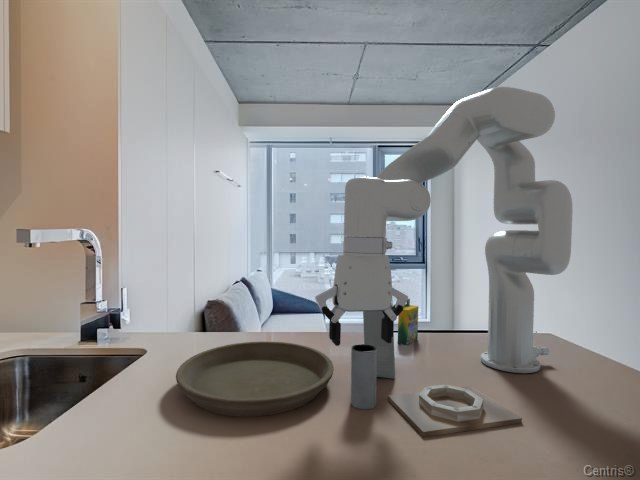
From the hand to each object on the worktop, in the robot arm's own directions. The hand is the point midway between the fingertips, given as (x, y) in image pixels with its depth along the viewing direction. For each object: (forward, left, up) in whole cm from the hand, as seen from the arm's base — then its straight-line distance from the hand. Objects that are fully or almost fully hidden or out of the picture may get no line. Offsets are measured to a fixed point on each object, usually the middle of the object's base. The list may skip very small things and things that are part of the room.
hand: (361, 342), depth 68 cm
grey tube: (-1, 0, -12) cm, 12 cm away
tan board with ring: (-15, +6, -11) cm, 19 cm away
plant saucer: (+17, -13, -12) cm, 25 cm away
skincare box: (-10, -14, -12) cm, 21 cm away
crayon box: (-27, -33, -12) cm, 44 cm away
